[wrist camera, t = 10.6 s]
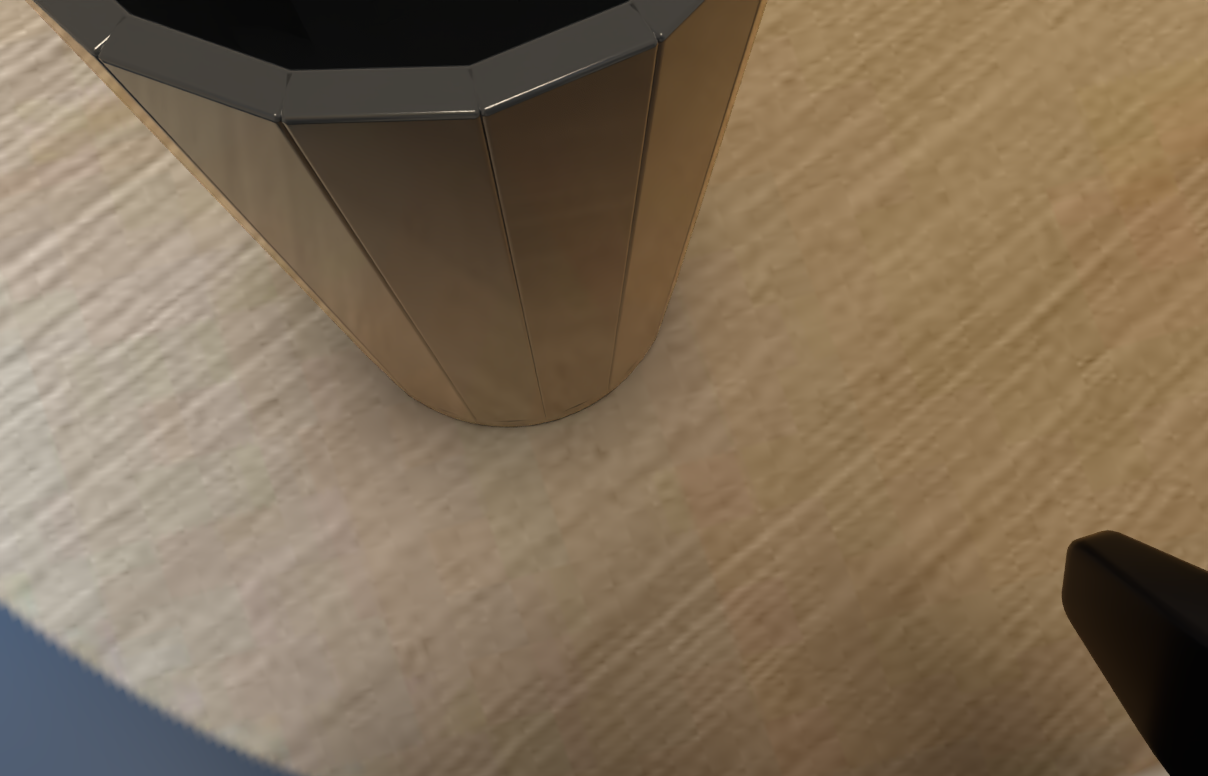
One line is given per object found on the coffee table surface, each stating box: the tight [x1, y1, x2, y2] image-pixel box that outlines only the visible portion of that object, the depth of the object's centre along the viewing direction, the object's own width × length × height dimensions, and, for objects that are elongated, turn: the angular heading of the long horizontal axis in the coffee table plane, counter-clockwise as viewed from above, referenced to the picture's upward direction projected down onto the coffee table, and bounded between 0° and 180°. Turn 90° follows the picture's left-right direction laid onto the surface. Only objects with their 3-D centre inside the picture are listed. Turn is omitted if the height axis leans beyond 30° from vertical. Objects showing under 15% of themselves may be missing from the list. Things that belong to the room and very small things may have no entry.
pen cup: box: [25, 0, 768, 427], centre depth 13 cm, size 7×7×13 cm
